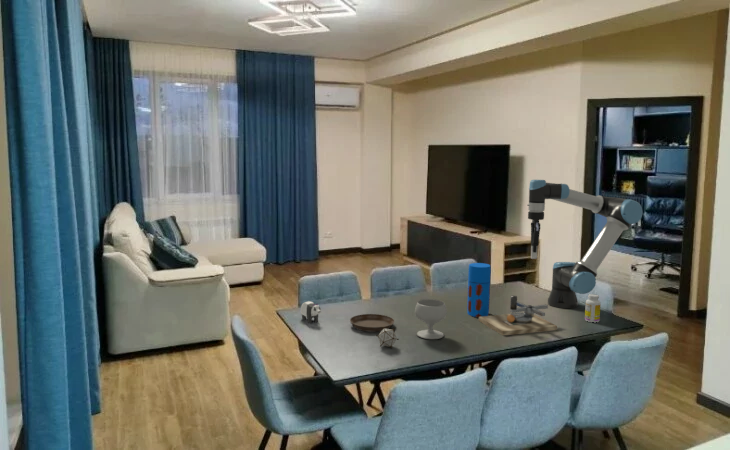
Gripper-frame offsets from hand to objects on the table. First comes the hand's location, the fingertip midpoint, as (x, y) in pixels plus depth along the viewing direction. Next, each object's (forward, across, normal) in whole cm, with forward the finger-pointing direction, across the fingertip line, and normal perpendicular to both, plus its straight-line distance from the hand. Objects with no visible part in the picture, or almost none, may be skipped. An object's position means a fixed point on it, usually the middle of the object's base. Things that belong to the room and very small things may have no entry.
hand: (533, 258), depth 273 cm
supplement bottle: (+29, +7, +28) cm, 40 cm away
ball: (+26, +24, -13) cm, 37 cm away
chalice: (+29, +41, -49) cm, 70 cm away
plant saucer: (+29, +32, -76) cm, 88 cm away
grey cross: (+26, +20, -4) cm, 33 cm away
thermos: (+29, +5, -26) cm, 39 cm away
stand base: (+28, +20, -10) cm, 36 cm away
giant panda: (+29, +29, -106) cm, 114 cm away
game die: (+29, +58, -67) cm, 93 cm away
